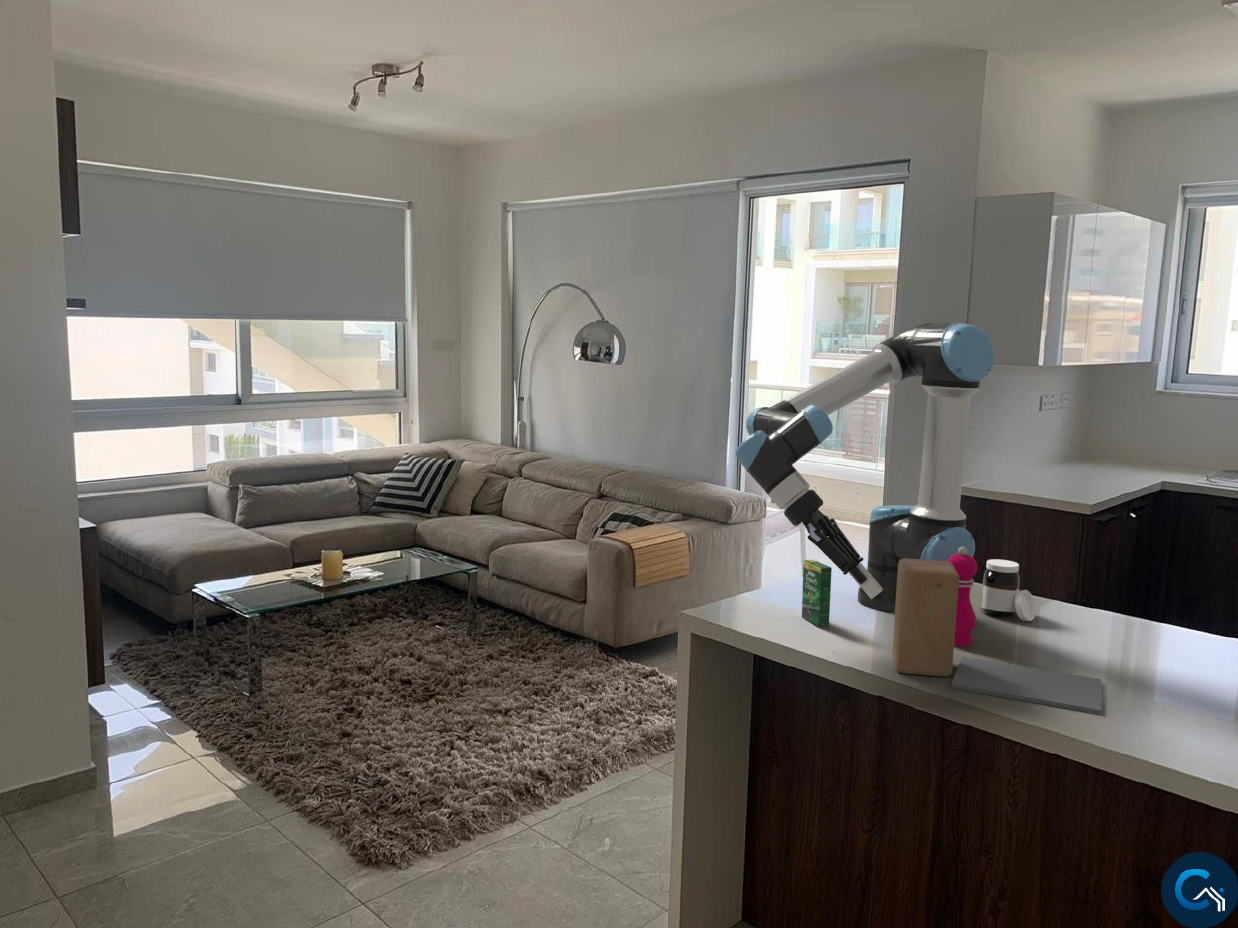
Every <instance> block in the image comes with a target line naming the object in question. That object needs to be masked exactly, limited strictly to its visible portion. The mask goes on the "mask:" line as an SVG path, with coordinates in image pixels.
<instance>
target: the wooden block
mask: <svg viewBox="0 0 1238 928" xmlns="http://www.w3.org/2000/svg"><path fill="white" fill-rule="evenodd" d="M958 586H959V576H958V573H957V572H956V570H955V568H954V566H953V565H952V563H951V562H948V561H938V560H923V559H908V558H903V559H900V561H899V562H898V574H897V589H896V604H895V612H894V618H893V619H894V621H893V635H892V638H893V639H892V652H891V653H892V657H893V661H894V666H895V669H896V671H897V672H898V673H900V674H908V675H909V674H911V675H922V676H931V677H943V678H947V677H950V676H951V674H952V673H953V666H954V665H953V663H954V662H953V661H954V650H955V646H954V638H955V625H956V612H957V599H958Z"/></svg>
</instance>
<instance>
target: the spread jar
mask: <svg viewBox="0 0 1238 928" xmlns="http://www.w3.org/2000/svg"><path fill="white" fill-rule="evenodd" d="M985 567H986V569H985V571H984V573H983V579H982V590H981V592H982V593H981V602H980V604H981V605H980V607H981V611H982V612H983V613H984V614H986V615H988V616H992V617H997V618H1013V617H1015V616H1018V618H1019V619H1020V620H1021V621H1022V622H1032V621H1033V620H1034V619H1035V617H1036V602H1035V600H1034V597H1033V595H1032V593H1031V592H1030V591H1029V590H1028V589H1023V590H1022V589H1021V590H1020V581H1021V580H1020V578H1021V577H1020V574H1019V570H1020V564H1019V563H1018V562H1015V561H1012V560H1007V559H998V558H997V559H987V561H986V565H985Z"/></svg>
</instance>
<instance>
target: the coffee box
mask: <svg viewBox="0 0 1238 928" xmlns="http://www.w3.org/2000/svg"><path fill="white" fill-rule="evenodd" d="M802 561H803V564H802V565H803V568H802V593H801V595H802V599H801V601H802V602H801V617H802V618H803V619H804V620H806V621H808V622H810V623H811V624H813V626H815V627H817V628H828V627H829V626H830V611H831V610H830V609H831V589H832V573H833V571H832V567H831V566H828V565H826V564H824V563H822V562H819V561H817V560H816V559H805V560H802Z"/></svg>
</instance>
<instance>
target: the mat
mask: <svg viewBox="0 0 1238 928" xmlns="http://www.w3.org/2000/svg"><path fill="white" fill-rule="evenodd" d="M950 688H952V689H957V690H961V691H962V690H963V691H968V692H972V693H979V694H982V695H983V694H984V695H990V696H995V697H1002V698H1007V699H1011V700H1018V701H1023V702H1029V703H1034V704H1035V703H1036V704H1039V705H1043V706H1044V705H1046V706H1051V707H1055V708H1057V707H1058V708H1061V709H1062V708H1063V709H1067V710H1074V711H1078V710H1079V711H1078V712H1083V711H1085V712H1084V713H1089V712H1091V713H1090V714H1094V713H1097V714H1096V715H1100V714H1101V715H1102V709H1103V708H1102V707H1103V706H1102V679H1101V678H1097V677H1090V676H1087V675H1086V676H1085V675H1079V674H1074V673H1073V674H1072V673H1067V672H1060V671H1055V670H1048V669H1043V668H1037V667H1031V666H1025V665H1018V664H1013V663H1006V662H1002V661H1001V662H1000V661H994V660H989V659H982V658H977V657H971V656H964V655H962V656H961V659H960V662H959V664H958V665H957V668H956V672H955V673H954V676H953V679H952V681H951V687H950Z"/></svg>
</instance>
